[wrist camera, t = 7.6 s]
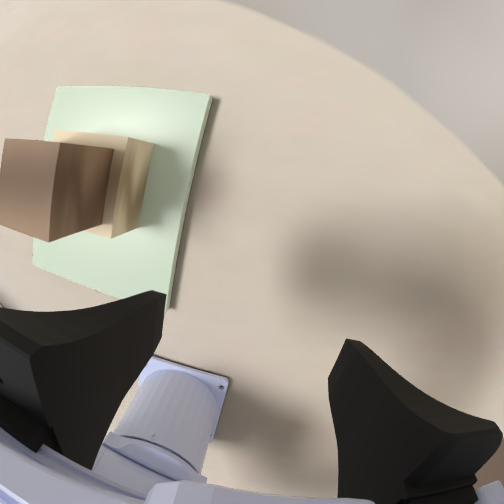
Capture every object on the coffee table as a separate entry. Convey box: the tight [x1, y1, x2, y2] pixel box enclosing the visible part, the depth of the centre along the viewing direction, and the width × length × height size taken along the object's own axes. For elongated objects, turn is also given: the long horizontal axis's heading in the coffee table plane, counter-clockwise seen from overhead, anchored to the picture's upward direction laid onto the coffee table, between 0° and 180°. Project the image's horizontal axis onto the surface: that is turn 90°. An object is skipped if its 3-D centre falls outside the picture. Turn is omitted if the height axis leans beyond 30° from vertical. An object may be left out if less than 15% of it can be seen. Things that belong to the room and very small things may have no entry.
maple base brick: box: [53, 130, 155, 239], centre depth 17 cm, size 6×6×4 cm
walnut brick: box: [0, 139, 114, 243], centre depth 13 cm, size 4×4×5 cm
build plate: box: [33, 86, 213, 313], centre depth 20 cm, size 16×14×1 cm
